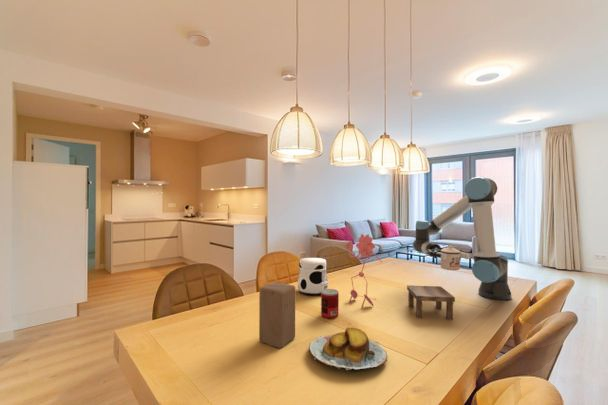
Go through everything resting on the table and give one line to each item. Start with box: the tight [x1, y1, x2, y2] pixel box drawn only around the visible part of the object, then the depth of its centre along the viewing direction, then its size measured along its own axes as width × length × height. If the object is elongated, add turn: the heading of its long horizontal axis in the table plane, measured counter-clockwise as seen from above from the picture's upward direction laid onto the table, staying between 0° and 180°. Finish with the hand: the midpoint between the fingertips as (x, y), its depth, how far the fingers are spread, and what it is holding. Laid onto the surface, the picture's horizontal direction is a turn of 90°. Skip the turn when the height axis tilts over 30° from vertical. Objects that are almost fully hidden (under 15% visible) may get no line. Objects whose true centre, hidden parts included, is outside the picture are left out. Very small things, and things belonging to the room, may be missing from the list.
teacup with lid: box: [440, 245, 462, 271], centre depth 145 cm, size 12×9×12 cm
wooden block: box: [258, 281, 296, 349], centre depth 105 cm, size 10×10×20 cm
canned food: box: [320, 288, 340, 320], centre depth 128 cm, size 8×8×11 cm
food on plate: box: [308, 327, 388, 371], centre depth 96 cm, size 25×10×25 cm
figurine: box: [346, 233, 383, 308], centre depth 146 cm, size 15×26×35 cm, turn 31°
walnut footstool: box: [406, 285, 456, 321], centre depth 133 cm, size 16×16×10 cm
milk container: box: [297, 257, 329, 296], centre depth 162 cm, size 17×17×18 cm
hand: (457, 256), depth 142 cm, fingers closed on teacup with lid, 12 cm apart
